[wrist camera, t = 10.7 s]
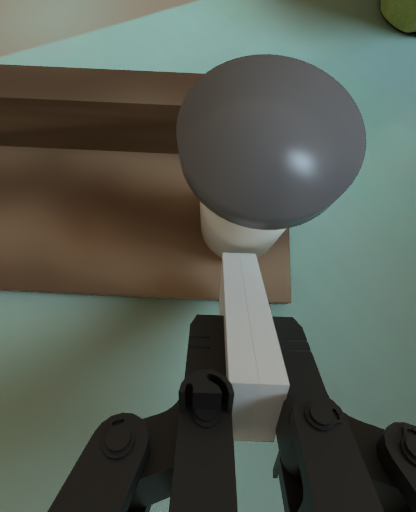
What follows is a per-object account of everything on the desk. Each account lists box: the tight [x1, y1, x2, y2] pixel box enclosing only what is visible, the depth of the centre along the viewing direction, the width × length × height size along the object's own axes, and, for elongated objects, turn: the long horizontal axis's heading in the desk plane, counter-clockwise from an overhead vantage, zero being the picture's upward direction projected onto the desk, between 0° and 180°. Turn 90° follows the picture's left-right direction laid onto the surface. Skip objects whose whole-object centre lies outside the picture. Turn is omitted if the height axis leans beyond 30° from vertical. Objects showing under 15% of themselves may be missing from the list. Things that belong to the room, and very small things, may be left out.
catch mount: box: [0, 65, 291, 304], centre depth 15 cm, size 11×26×5 cm, turn 87°
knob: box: [176, 55, 366, 258], centre depth 12 cm, size 6×6×8 cm
